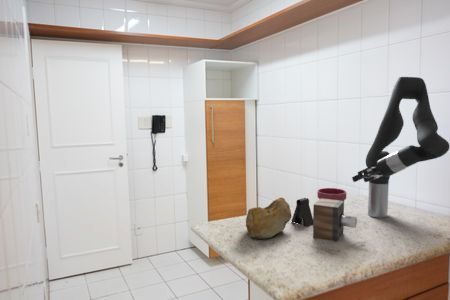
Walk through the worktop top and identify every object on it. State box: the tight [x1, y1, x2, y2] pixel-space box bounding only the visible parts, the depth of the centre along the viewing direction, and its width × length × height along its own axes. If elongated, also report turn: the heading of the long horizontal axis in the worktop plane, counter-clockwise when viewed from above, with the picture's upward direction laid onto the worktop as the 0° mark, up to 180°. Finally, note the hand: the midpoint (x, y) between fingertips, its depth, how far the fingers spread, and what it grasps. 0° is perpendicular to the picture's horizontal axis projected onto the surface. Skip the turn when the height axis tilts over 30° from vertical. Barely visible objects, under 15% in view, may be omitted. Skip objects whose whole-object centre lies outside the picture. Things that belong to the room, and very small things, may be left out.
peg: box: [339, 214, 358, 229], centre depth 140 cm, size 4×10×4 cm, turn 59°
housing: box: [312, 198, 345, 243], centre depth 143 cm, size 12×10×14 cm
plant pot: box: [316, 187, 347, 202], centre depth 173 cm, size 14×14×13 cm
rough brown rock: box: [245, 197, 293, 240], centre depth 149 cm, size 23×17×15 cm
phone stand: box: [291, 197, 313, 227], centre depth 160 cm, size 9×6×12 cm, turn 39°
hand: (358, 180), depth 143 cm, fingers open, 8 cm apart
